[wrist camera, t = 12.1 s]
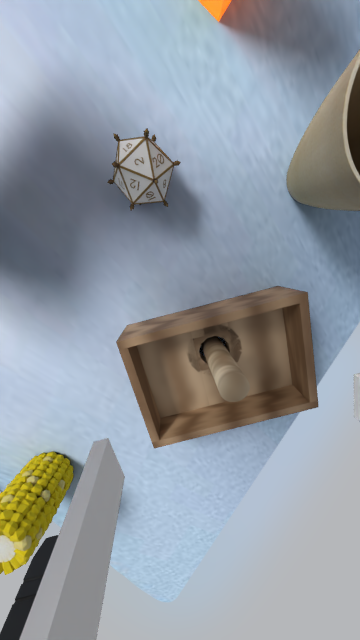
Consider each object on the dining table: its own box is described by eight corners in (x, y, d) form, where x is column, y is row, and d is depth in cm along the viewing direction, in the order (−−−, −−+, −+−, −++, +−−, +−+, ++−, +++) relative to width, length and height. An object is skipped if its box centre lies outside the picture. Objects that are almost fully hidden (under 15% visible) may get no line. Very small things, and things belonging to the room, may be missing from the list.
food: (57, 484, 47) (24, 452, 45) (95, 470, 43) (61, 434, 41) (-12, 590, 33) (-64, 550, 31) (34, 582, 29) (-22, 536, 27)
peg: (203, 355, 39) (222, 405, 26) (199, 337, 38) (216, 379, 25) (222, 350, 39) (252, 397, 26) (219, 332, 38) (246, 371, 25)
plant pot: (246, 150, 31) (321, 41, 16) (343, 98, 30) (526, -73, 15) (279, 248, 35) (367, 237, 20) (367, 204, 34) (532, 156, 19)
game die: (146, 177, 35) (155, 97, 26) (180, 215, 34) (201, 145, 25) (96, 194, 31) (86, 108, 22) (132, 237, 30) (136, 164, 21)
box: (156, 413, 42) (154, 448, 34) (127, 325, 37) (116, 341, 29) (290, 379, 41) (318, 406, 34) (278, 286, 37) (307, 292, 29)
